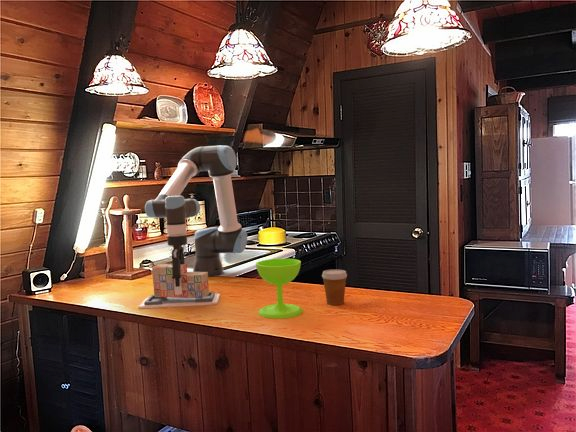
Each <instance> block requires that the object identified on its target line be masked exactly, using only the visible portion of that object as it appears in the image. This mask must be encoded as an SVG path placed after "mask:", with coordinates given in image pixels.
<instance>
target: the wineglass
mask: <svg viewBox="0 0 576 432" xmlns="http://www.w3.org/2000/svg"><path fill="white" fill-rule="evenodd" d="M301 263H302V261H301V260H300V259H296V258H271V259H263V260H258V261H257V262H256V263H255V266H256V271H257V272H258V275H259V276H260V277H261V278H262V279H263V281H265V282H267V284H270V285H274V286H276V299H277V300H276V303H275V304H268V305H266V306H264V307H262V308H260V309H259V310H258V313H257V314H258V316H260V317H263V318H265V319H276V320H278V319H280V320H281V319H289V318H294V317H298V316H300V315H302V314H303V313H304V312H303V308H302V307H301V306H298V305H295V304H293V303H284V300H283V299H284V297H283V286H284V285H286V284H290V283H291V282H292V281H294V280H295V278H296V277H297V276H298V275H299V272H300V269H301V265H302V264H301Z"/></svg>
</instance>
